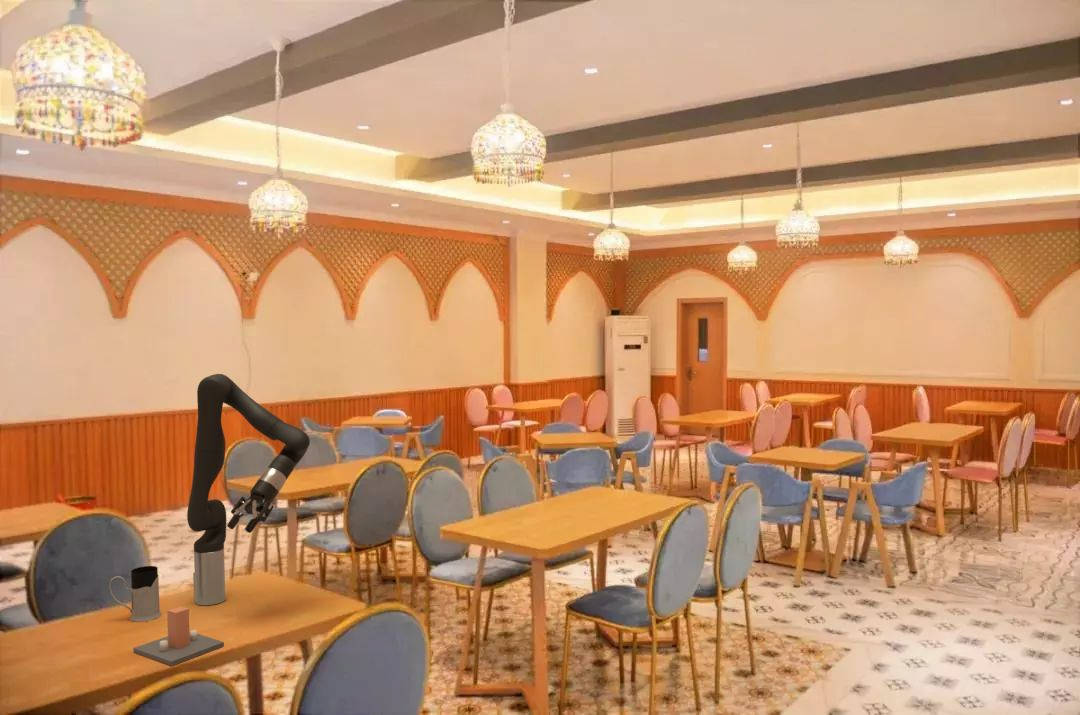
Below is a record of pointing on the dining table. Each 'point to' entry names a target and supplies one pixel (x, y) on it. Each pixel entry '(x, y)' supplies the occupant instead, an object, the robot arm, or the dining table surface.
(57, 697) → the dining table surface
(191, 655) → the base plate
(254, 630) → the dining table surface
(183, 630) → the block
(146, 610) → the glass holder
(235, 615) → the dining table surface
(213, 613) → the dining table surface
